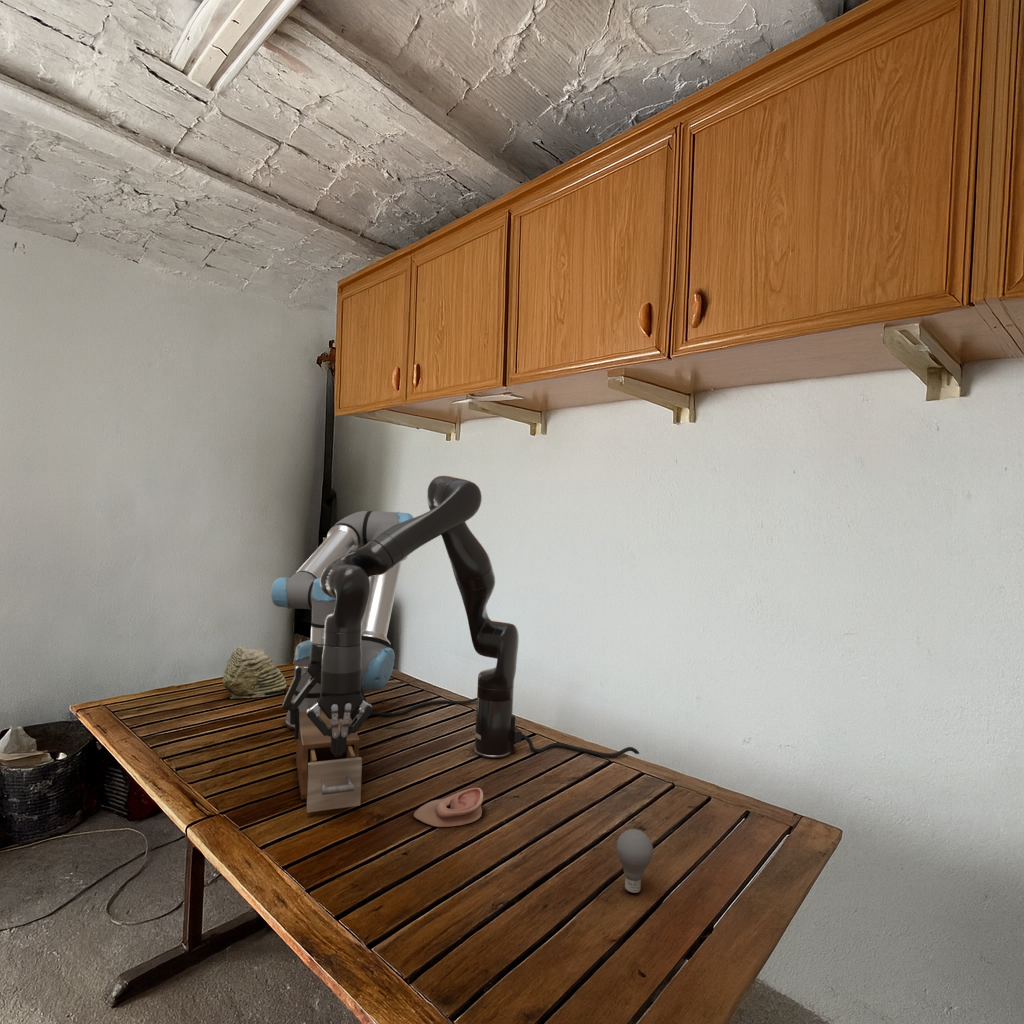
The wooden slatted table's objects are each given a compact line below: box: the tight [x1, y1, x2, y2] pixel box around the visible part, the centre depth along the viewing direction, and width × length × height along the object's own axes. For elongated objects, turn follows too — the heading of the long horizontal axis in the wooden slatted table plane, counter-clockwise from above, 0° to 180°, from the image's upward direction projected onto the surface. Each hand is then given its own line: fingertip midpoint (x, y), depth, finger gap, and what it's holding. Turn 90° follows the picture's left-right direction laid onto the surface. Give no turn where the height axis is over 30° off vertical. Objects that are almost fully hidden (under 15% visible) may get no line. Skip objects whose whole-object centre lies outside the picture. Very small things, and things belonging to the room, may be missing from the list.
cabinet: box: [295, 710, 360, 801], centre depth 144 cm, size 22×12×12 cm, turn 22°
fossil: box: [222, 646, 288, 699], centre depth 198 cm, size 9×18×15 cm, turn 132°
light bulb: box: [615, 828, 654, 894], centre depth 106 cm, size 6×6×10 cm
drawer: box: [306, 745, 363, 814], centre depth 133 cm, size 26×10×10 cm, turn 22°
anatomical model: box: [413, 787, 484, 828], centre depth 129 cm, size 13×4×12 cm
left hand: (323, 735), depth 150 cm, fingers closed on cabinet, 11 cm apart
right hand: (338, 754), depth 123 cm, fingers closed
